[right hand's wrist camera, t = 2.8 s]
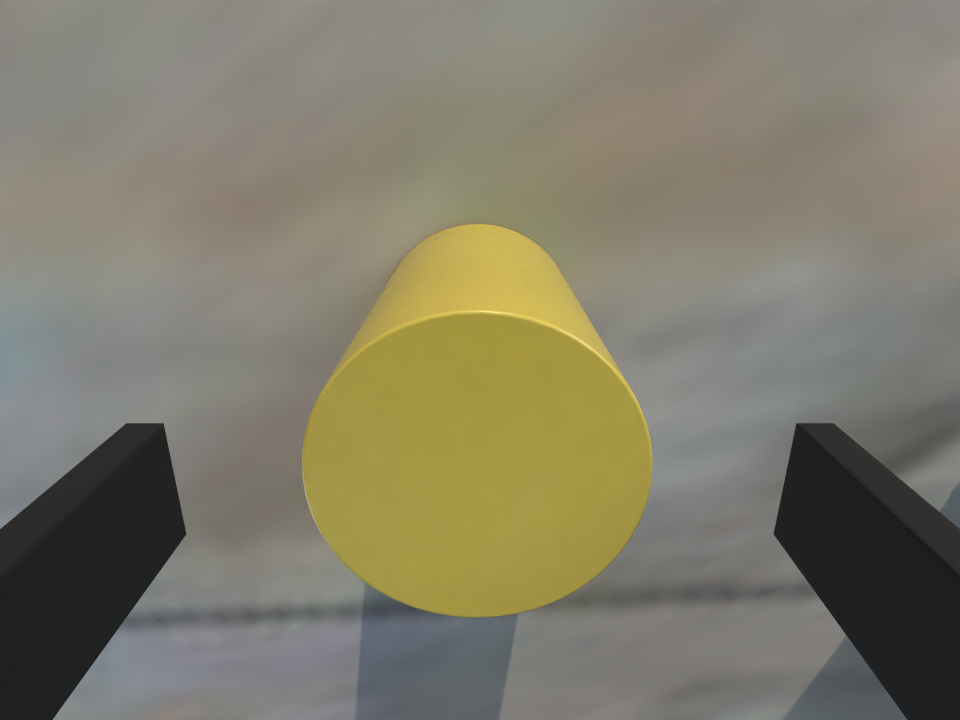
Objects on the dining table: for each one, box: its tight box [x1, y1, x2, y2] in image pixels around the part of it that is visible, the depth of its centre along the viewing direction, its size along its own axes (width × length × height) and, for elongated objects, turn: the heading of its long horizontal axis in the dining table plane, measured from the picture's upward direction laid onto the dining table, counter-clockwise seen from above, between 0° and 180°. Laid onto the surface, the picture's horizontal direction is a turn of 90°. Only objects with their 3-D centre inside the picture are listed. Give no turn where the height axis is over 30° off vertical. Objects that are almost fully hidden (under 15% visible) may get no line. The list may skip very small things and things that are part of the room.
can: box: [302, 224, 653, 618], centre depth 19 cm, size 8×8×12 cm
